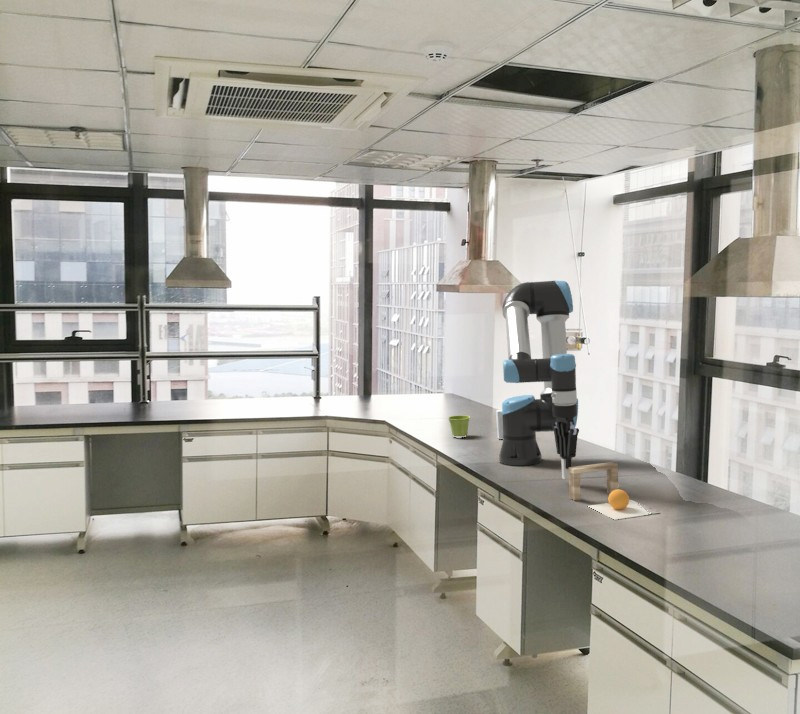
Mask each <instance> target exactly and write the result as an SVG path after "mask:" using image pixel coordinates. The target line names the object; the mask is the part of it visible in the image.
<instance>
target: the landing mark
mask: <svg viewBox="0 0 800 714" xmlns="http://www.w3.org/2000/svg"><path fill="white" fill-rule="evenodd" d="M638 503H639V502H637V501H635V500H633V499H629V504H628V506H627V507H626V508H624V509H621V510H617V509H614V508H613V507H612V506H611V505H610V504H609V502H605V503H604V502H603V503H598V504H590V505H587V506H588V507H587V508H589V507H590V508H589V509H591V508H592V509H591V510H593V509H594V510H593V511H595V510H596V511H595V512H597V511H598V512H597V513H599V512H600V513H599V514H601V513H602V515H603V516H605V517H608V518H609V517H610V518H609V519H611V518H612V519H611V520H613V519H614V520H613V521H618V519H619V520H624V519H625V518H626V519H630V518H638V517H644V515H646V516H649V515H648V513H649V512H647V511H648V510H647V511H646V510H645V509H644V508H643V507H642V506H641V505H640V504H641V503H639V505H640V506H639V505H638ZM641 507H642V508H641ZM649 514H651V512H650V513H649Z"/></svg>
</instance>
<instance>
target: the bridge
mask: <svg viewBox="0 0 800 714" xmlns="http://www.w3.org/2000/svg"><path fill="white" fill-rule="evenodd" d="M605 470H606V493H607V494H608V493H609V494H610V493H611V492H612V491H614V490H617V489H619V464H618V463H616V462H613V461H610V462H609V461H608V462H602V463H593V464H586V465H584V464H583V465H578V466H576V465H575V466H572V467H569V468H568V471H569V479H568V490H569V491H568V494H569V495H568V496H569V499H570V498H571V499H570V500H572V499H573V500H572V501H574V500H578V501H581V499H582V498H581V493H582V492H581V474H583V473H589V472H598V471H605ZM609 494H608V495H609Z"/></svg>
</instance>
